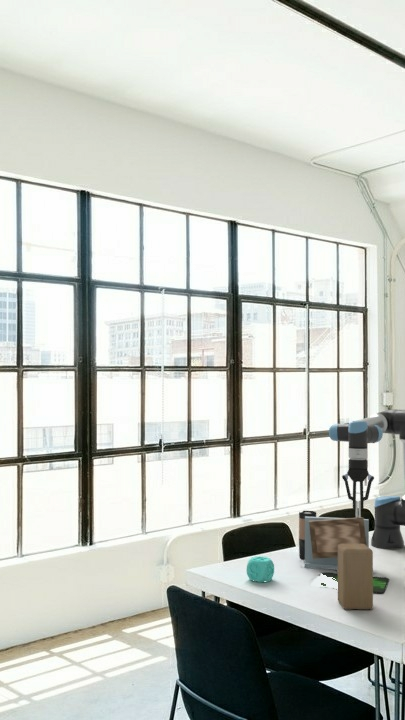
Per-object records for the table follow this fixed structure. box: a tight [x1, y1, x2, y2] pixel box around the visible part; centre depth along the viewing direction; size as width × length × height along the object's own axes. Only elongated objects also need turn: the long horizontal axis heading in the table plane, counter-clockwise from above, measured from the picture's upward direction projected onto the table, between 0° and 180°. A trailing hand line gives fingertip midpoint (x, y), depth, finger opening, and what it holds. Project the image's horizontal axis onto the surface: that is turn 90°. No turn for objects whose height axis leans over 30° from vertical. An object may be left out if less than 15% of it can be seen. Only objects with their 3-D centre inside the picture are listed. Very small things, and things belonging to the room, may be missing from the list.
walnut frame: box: [309, 516, 367, 559], centre depth 278 cm, size 22×2×15 cm, turn 79°
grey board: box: [303, 516, 370, 570], centre depth 283 cm, size 26×8×20 cm, turn 79°
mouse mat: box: [321, 571, 390, 595], centre depth 259 cm, size 27×22×1 cm
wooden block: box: [337, 544, 374, 610], centre depth 231 cm, size 10×10×20 cm
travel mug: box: [298, 510, 317, 561], centre depth 297 cm, size 8×8×20 cm
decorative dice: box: [246, 556, 275, 583], centre depth 262 cm, size 8×8×8 cm
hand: (358, 517), depth 276 cm, fingers closed
